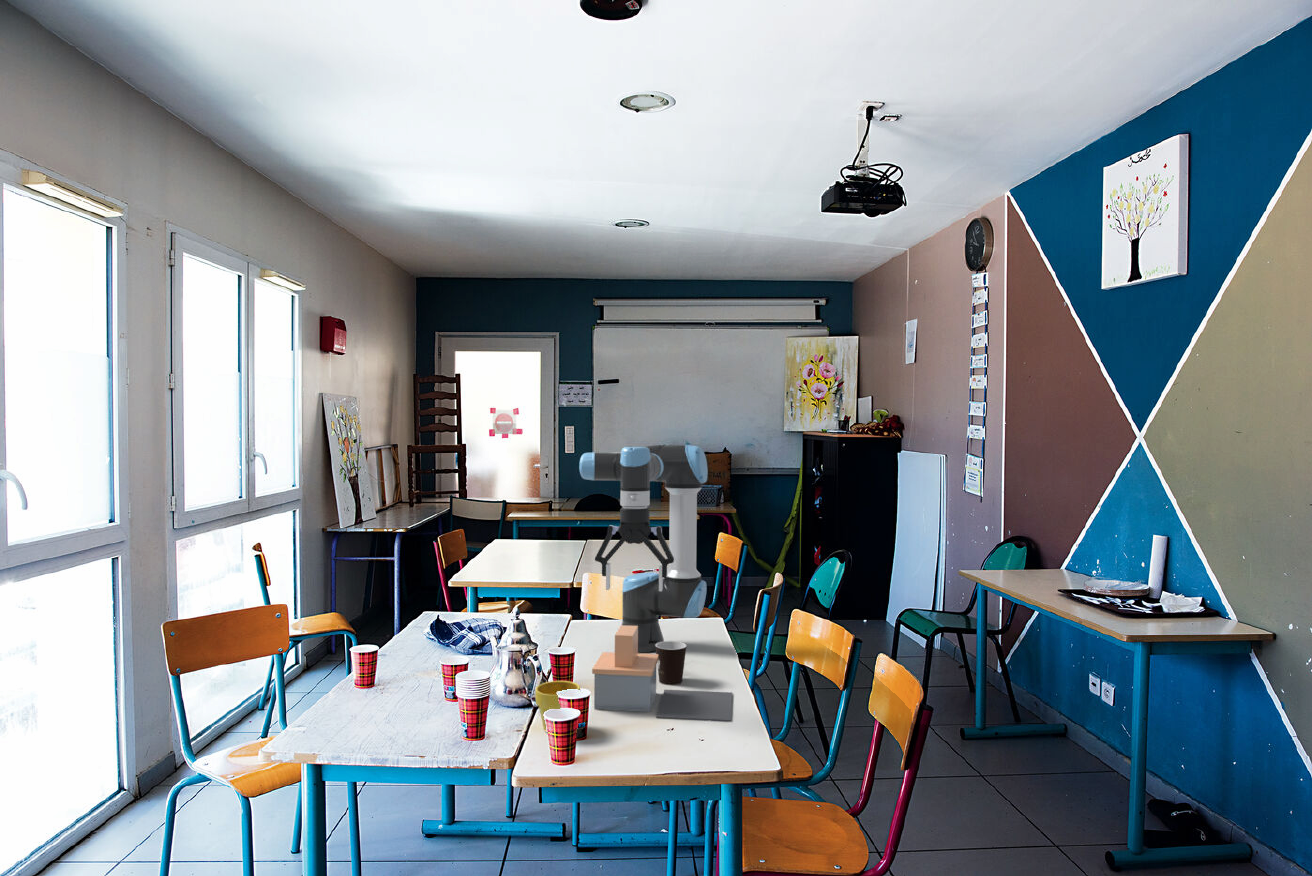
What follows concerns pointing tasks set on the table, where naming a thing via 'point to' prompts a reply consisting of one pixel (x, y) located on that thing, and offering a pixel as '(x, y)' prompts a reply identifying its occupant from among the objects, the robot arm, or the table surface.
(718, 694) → the mat
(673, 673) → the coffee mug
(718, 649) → the table surface
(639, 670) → the lid
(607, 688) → the storage box
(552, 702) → the plant pot
